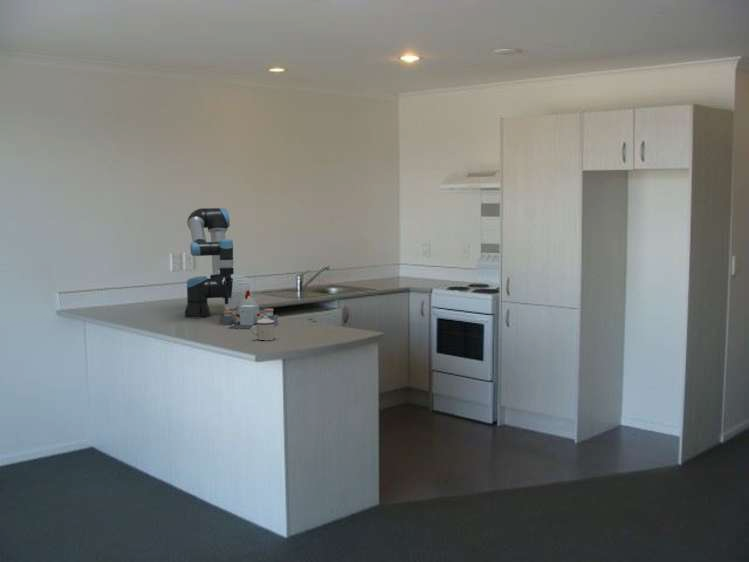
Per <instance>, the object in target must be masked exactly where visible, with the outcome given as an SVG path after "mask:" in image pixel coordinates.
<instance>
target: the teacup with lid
mask: <svg viewBox="0 0 749 562" xmlns="http://www.w3.org/2000/svg"><path fill="white" fill-rule="evenodd" d="M263 316H264V315H263ZM274 323H275V321H274V320H271V319H269V318H268V317H267V316H264V318H262V319H261V318H260V319H259V320H257V326H253V327H252V328H251V329H250V331H251V332H250V333H251V335H253V336H255V337H256V340H257V339H259V340H270V339H274V338H275V337H276V335H275V332H276V331H275V330H276V329H275V326H276V325H274ZM255 328H256V333H254V331H253V330H254V329H255ZM275 339H276V338H275ZM275 339H274V340H275ZM259 340H258V341H259Z"/></svg>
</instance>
